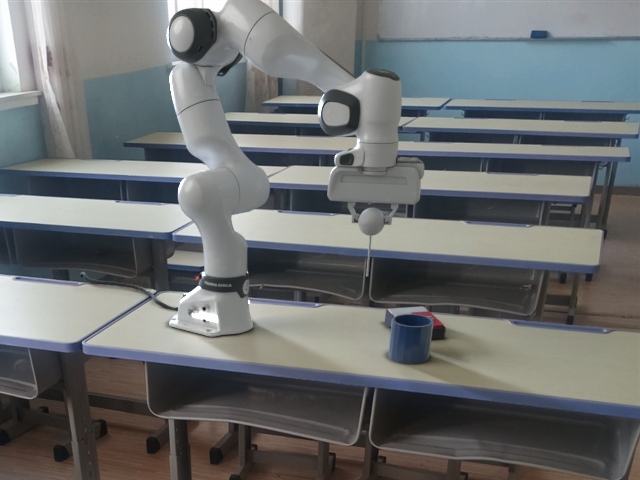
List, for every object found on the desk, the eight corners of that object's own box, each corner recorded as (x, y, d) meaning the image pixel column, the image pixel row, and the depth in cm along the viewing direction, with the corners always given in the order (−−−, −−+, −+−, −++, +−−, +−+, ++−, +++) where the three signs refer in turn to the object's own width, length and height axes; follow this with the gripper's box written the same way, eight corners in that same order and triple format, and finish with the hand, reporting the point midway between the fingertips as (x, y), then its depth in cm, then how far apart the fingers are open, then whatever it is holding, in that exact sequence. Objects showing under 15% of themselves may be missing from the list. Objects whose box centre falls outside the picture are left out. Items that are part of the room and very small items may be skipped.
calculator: (406, 327, 201) (385, 306, 213) (403, 343, 203) (383, 322, 215) (447, 324, 202) (424, 304, 214) (444, 340, 205) (422, 319, 217)
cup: (383, 360, 192) (387, 323, 187) (395, 347, 200) (398, 311, 195) (422, 366, 189) (427, 329, 184) (433, 353, 196) (437, 317, 191)
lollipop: (368, 271, 189) (374, 204, 181) (385, 277, 185) (392, 208, 177) (348, 275, 186) (353, 207, 178) (365, 281, 182) (371, 211, 174)
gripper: (426, 155, 172) (419, 222, 179) (332, 152, 177) (329, 218, 184) (424, 159, 167) (417, 228, 174) (327, 156, 172) (324, 224, 179)
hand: (371, 223), depth 179 cm, fingers closed on lollipop, 6 cm apart
